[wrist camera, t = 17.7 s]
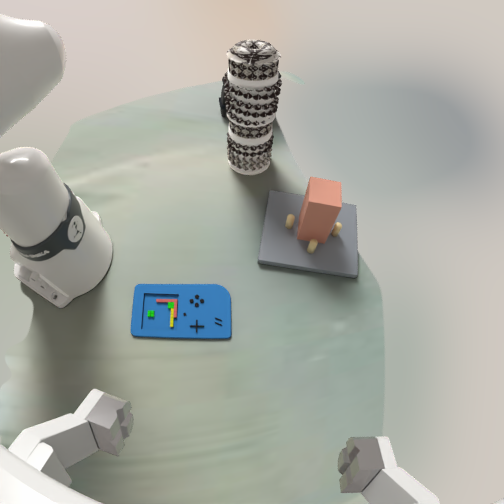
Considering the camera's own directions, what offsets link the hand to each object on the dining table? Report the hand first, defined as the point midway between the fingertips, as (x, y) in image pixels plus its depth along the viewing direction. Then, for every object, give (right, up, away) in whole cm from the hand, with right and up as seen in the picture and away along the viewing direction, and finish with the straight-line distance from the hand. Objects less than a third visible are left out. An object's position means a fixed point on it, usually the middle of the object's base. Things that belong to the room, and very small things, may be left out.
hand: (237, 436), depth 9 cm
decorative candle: (0, +25, +49) cm, 55 cm away
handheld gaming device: (-10, -2, +35) cm, 36 cm away
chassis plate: (+10, +10, +41) cm, 44 cm away
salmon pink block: (+10, +10, +40) cm, 43 cm away
